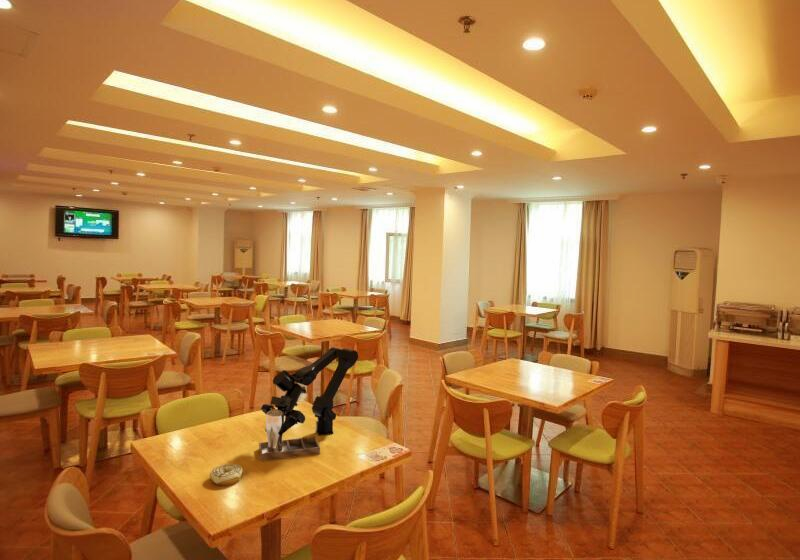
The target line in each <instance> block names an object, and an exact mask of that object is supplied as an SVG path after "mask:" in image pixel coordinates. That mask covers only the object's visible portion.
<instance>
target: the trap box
mask: <svg viewBox="0 0 800 560" xmlns="http://www.w3.org/2000/svg"><path fill="white" fill-rule="evenodd" d="M267 445H268V441H264V442H262V441H261V442H258V451H259V459H260V460H259V461H260V462H263V461H272V460H279V459H288V458H296V457H297V458H298V457H304V456H312V455H313V456H314V455H319V454H320V453H321V447H320V444H319V442H318V440H317V437H316V436H309V437H308V436H307V437H299V438H292V439H291V438H290V439H282V448H283V450H282V451H281V452H272V453H268V452H267Z"/></svg>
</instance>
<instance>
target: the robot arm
mask: <svg viewBox="0 0 800 560" xmlns="http://www.w3.org/2000/svg"><path fill="white" fill-rule="evenodd" d="M336 359H337V367H336V369H335V370H334V372H333V374H332V375H331V378H330V380H329V382H328V384H327V386H326V388H325V390H324V392H323V394H322V395H320V396H318V395H317V396H316V397H315V399H314V401H313V403H312V407H311V410H312V413H313V415H314V417H315V418H317V420H316V421H315V431H316V433H317V434H318V436H322V435H323V436H324V435H330V434H331V435H333V434H335V433H334V431H333V430H334V428H333V425H334V420H336V417H337V414H336V412H334V411H333V408H334V399H335V396H336V394H337V392H338V391H339V388H340V387H341V384H342V383H343V381H344V378H345V376H346V374H347V372H348V371H349V370H350V369H351V368H352V367H354V366H355V365H356V362H357V361H358V359H359V353H358V352H357V350H354V349H351V348H342V349H341V348H338V347H335V346H333V347H330V348H329V349H328V351H326V352H325V353H324V354H322V355H321V356H320V357H319V358H317V359H316V360H315V361H313V362H312V363H311V364H309V365H306V366H303V367H302V368H299V369H298V370H297V371H295V373H292V374H290V373H289V372H288V370H284V369H283V370H282V371H280V372H279V373H277V374H276V375H275V376H274V377H273V380H272V383H273V384H274V386H276V387H277V388H278V389H279V390H281V391H282V392H285V393H284V395H281V396H280V397H278V396H274V395H272V396H271V400H270V404H268V403H263V405H262V406H261V408H260V410H261V411H262V412H263V413H264V414H265V415H266V416H267V413H268V412H269V411H273V410H281V411H283V412H284V420H285V422H284V424H283V426H282V428H281V430H280V432H279V435H280V436H281V435H282V434H283V435H284V434H285V433H286V432H287V431H288V430H290V429H291V428H293V427H294V426H295V425H298V424H304V423H305V421H306V416H305V415H304V413H303V411H302V412H301V410H297V409H294V408H295V407H298V405H299V404H298V400H299V398H300V397H301V394H307V390H306V386H310V385H311V384H313V382H315V380H316V379H317V376H318V375H319V373H321V372H322V370H325V368H326V367H327V366H329V365H330V364H331V363H332V362H334V361H335V360H336ZM273 405H274V406H273ZM276 408H277V409H276ZM264 431H265V432H266V433H267V431H266V428H265V429H264Z"/></svg>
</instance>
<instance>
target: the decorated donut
mask: <svg viewBox="0 0 800 560" xmlns="http://www.w3.org/2000/svg"><path fill="white" fill-rule="evenodd" d="M242 475H243V468H242V466H240V465H239V464H236V463H225V464H221V465H217V466H216V467H214V468H212V469H211V471H210V472H209V477H210V480H211V482H212V483H214V484H216V485H218V486H232V485H234V484H236V483H238V482H239V481H240V479H241V478H242Z"/></svg>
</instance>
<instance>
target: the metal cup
mask: <svg viewBox="0 0 800 560" xmlns="http://www.w3.org/2000/svg"><path fill="white" fill-rule="evenodd" d="M265 421H266V422H265V429H266V431H267V432H266V431H265V432H266V436H267V442H268V445H267V452H268V453H272V452H281V451H282V450H283V448H282V440H283V436H284V433H283V434H282V435H281V436H280V435H279V432H280V430H281V428H282V426H283V424H284V422H285V416H284V412H283V411H281V410H273V411H269V412H268V413H267V415H266V419H265Z"/></svg>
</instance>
